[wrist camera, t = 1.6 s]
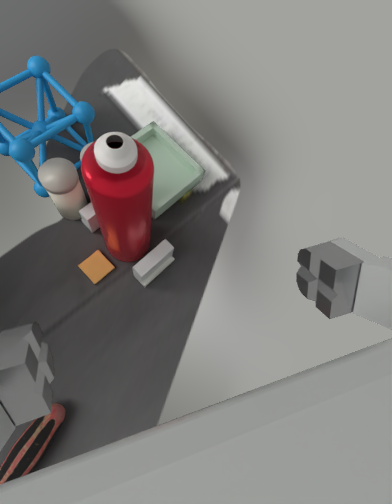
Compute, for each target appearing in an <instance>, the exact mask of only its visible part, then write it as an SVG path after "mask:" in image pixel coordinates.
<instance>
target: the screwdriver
mask: <svg viewBox="0 0 392 504" xmlns="http://www.w3.org/2000/svg"><path fill="white" fill-rule="evenodd" d="M64 417H65V409H64V407H63V406H62V405H61V404H59V403H54V404H52V408H51V413H50V414H48V415H45V416H42V417H39V418H37V419H35V420H34V421H33V422H32V423H31V424H30V426H29V427H28V428H27V429H26V430H25V432H24V433H23V434H22V435H21V436H20V438H19V439H18V440H17V441H16V443H15V444H14V445H13V447H12V449H11V450H10V452H9V454H8V455H7V457H6V459H5V461H4V462H3V464H2V465H1V467H0V484H3V483H6V482H8V481H11V480H14V479H16V478H19V477H22V476H24V475H27V474H30V473H31V472H32V470H33V469H34V468H35V467H36V466H37V464H38V463H39V462H40V460H41V459H42V458H43V456H44V454H45V453H46V451H47V450H48V448H49V446H50V444H51V442H52V441H53V439H54V437H55V435H56V433H57V432H58V430H59V428H60V426H61V424H62V422H63V420H64Z"/></svg>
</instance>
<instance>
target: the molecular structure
mask: <svg viewBox="0 0 392 504" xmlns="http://www.w3.org/2000/svg"><path fill="white" fill-rule="evenodd" d="M27 67H28V69H27V70H25V71H23V72H21V73H19V74H17V75H15V76H13V77H12V78H9V79H8V80H6V81H4V82H2V83H0V93H1V92H3V91H4V90H7V89H8V88H10V87H12V86H14V85H16V84H18V83H20V82H22V81H24V80H26V79H27V78H29V77H31V76H33V77H35V78H36V88H37V89H36V90H37V111H38V121H35V122H34V123H31V122H29V121H27V120H24V119H22V118H20V117H18V116H16V115H13V114H11V113H9V112H7V111H5V110H3V109H0V116H2V117H4V118H6V119H9V120H11V121H13V122H15V123H18V124H20V125H22V126H24V127H26V128H29V129H28V130H26V131H25V132H23V133H21V134H19V135H18V136H16V137H14V136H13V135H12V134H11V133H10V132H9V131H8V130H7V129H6V128H5V127H4V126H3V125H2V123H1V122H0V154H2V155H4V156H12V158H13V159H14V160H15V161H16V162H17V163H18V164H19V165H20V166H21V168H22V169H23V170H24V171H25V172H26V173H27V174H28V175H29V176H30V177H31V178H32V179H33V180H34V181H35V184H34V190H35V192H36V193H37V194H38V195H39V196H41V197H49V194H48V192H47V191H46V190H45V189H44V187H43V186H42V184H41V182H40V181H39V179H38V170H37V168H36V166H35V165H34V163H33V161H32V158H33V157H34V155H35V150H34V148H35V147H37V146H38V145H39V153H40V166H41V165H42V164H43V163H44V162H45V161H47V160H46V141H48V140H49V139H50V138H51V139H53V140H56V141H58V142H60V143H62V144H65V145H67V146H69V147H71V148H73V149H76V150H78V151H80V152H81V150H82V149H83V147H84V146H86V145H87V143H86V142H85V141H84V140H83V139H82V138H81V137H80V136H79V135H78V134H77V133H76V132H75V131H74V130H73V129H72V128H71V125H73V124H74V123H76V122H78V123H80V124H83V125H84V129H85V133H86V137H87V140H88V144H89V143H91V142H94V139H93V135H92V131H91V127H90V123H91V122H92V121H93V120H94V118H95V111H94V108H93V107H92V106H91V105H90V104H89V103H87V102H84V101H81V102H77V101H76V100H75V99H74V98H73V97H72V96H71V95H70V94H69V93H68V92H67V91H66V90H65V89H64V88H63V87H62V86H61V85H60V84H59V83H58V82H57V81H56V80H55V79H54V78H53V77H52V76H51V75H50V66H49V63H48V62H47V61H46V60H45V59H44V58H42V57H40V56H32V57H31V58H30V59H29V60H28V63H27ZM47 81H48V82H49V83H50V84H51V85H52V86H53V87H54V88H55V89H56V90H57V91H58V92H59V93H60V94H61V95H62V96H63V97H64V98H65V99H66V100H67V101H68V102H69V103H70V104H71V105H72V106H73V111H72V112H73V114H71V115H69V116H67V117H66V114H65V112H64V111H63V110H62V109H61V108H59V107H56V104H55V102H54V99H53V96H52V93H51V90H50V87H49V85H48V82H47ZM44 92H45V94H46V97H47V100H48V102H49V105H50V109H49V110H48V113H47V116H48V118H47V119H45V114H44ZM64 129H66V130H67V131H68V132H69V133H70V134H71V135H72V136H73V137H74V138H75V139H76V140H77V141H78V143H79V144H80V145H79V144H76V143H74V142H72V141H70V140H68V139H66V138H63V137H61V136H59V135H57V134H58V133H59V132H61V131H63V130H64ZM2 135H3V136H4V137H3V136H2ZM74 166H75V168H76V170H78V169H79V168H81V160H80V161H79V162H77V163H75V164H74Z"/></svg>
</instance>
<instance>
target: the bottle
mask: <svg viewBox="0 0 392 504" xmlns="http://www.w3.org/2000/svg"><path fill="white" fill-rule="evenodd" d="M81 174H82V177H83V180H84V182H85V185H86V188H87V191H88V194H89V197H90V200H91V203H92V206H93V208H94V211H95V214H96V217H97V220H98V223H99V226H100V229H101V232H102V234H103V237H104V240H105V243H106V246H107V249H108V251H109V253H110V254H111V255H112V256H113V257H114V258H116V259H118V260H120V261H124V262H132V261H136V260H138V259H140V258H142V257H143V256H144V255H145V254H146V253H147V251H148V249H149V246H150V234H151V217H152V199H153V182H154V163H153V159H152V157H151V154H150V153H149V151H148V150H147V149H146V148H145V147H144V146H143V145H142V144H141V143H140V142H138V141H137V140H135V139H133V138H131V137H129V136H128V135H126V134H124V133H121V132H109V133H106V134H104V135H102V136H100V137H99V138H98V139H97V140H96V141H95V142H93V143H92V144H91V145H90V146H89V147H88V148H87V149H86V151H85V152H84V154H83V157H82V160H81Z"/></svg>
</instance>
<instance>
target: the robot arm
mask: <svg viewBox="0 0 392 504" xmlns="http://www.w3.org/2000/svg"><path fill="white" fill-rule="evenodd" d="M298 262H299V264H300V265H301V267H300V268H299V270H298V272H297V284H298V287H299V290H300V291H301V293H302V294H303V295H304V296H305V297H306V298H307V299H310V300H313V301H316V307H317V308H318V309H319V310H320V311H321V312H322V313H323V314H325V315H326V316H327V317H328V318H329V319H331V318H335V317H338V316H341V315H344V314H348V313H351V312H353V314H356V315H358V316H361V317H363V318H365V319H368V320H370V321H373V322H375V323H377V324H380V325H382V326H385V327H387V328H390V329H392V258H389V257H380V258H379V257H377V256H376V255H374V254H372V253H370V252H368V251H366V250H365V249H363V248H361V247H359V246H357V245H356V244H354V243H352V242H350V241H348V240H347V239H345V238H337V239H334V240H331V241H328V242H325V243H322V244H318V245H315V246H312V247H308V248H305V249H301V250H300V251H299V253H298ZM42 335H43V332H42V330H41V328H40V326H39V324H38V323H37V322H31V323H27V324H23V325H19V326H15V327H11V328H7V329H3V330H0V451H1V450H2V448H3V447H4V445H5V444H6V442H7V441H8V439H9V438H10V436H11V435H12V433H13V431H14V430H15V426H18V425H20V424H23V423H26V422H29V421H31V420H34V419H37V418H39V417H42V416H45V415H48V414H50V413H51V408H52V397H53V391H52V389H51V386H50V383H51V382H52V380H53V379H54V372H55V368H54V360H53V356H52V353H51V350H50V348H49V345H48V344H46V343H44V342H42ZM0 504H392V338H391V339H388V340H385V341H383V342H380V343H377V344H375V345H372V346H369V347H367V348H364V349H361V350H359V351H356V352H353V353H350V354H348V355H345V356H343V357H340V358H337V359H334V360H332V361H329V362H326V363H324V364H321V365H318V366H316V367H313V368H310V369H307V370H305V371H302V372H299V373H297V374H294V375H291V376H289V377H286V378H283V379H281V380H278V381H275V382H273V383H270V384H267V385H265V386H262V387H259V388H257V389H254V390H251V391H249V392H246V393H244V394H241V395H238V396H235V397H233V398H230V399H227V400H225V401H222V402H219V403H217V404H214V405H211V406H209V407H206V408H203V409H201V410H198V411H196V412H193V413H190V414H188V415H185V416H182V417H180V418H177V419H174V420H171V421H169V422H166V423H163V424H161V425H158V426H155V427H153V428H150V429H147V430H145V431H142V432H139V433H137V434H134V435H131V436H129V437H126V438H123V439H120V440H118V441H115V442H112V443H110V444H107V445H104V446H102V447H99V448H96V449H94V450H91V451H88V452H86V453H83V454H80V455H78V456H75V457H72V458H70V459H67V460H64V461H62V462H59V463H56V464H54V465H51V466H48V467H46V468H43V469H40V470H38V471H35V472H32V473H30V474H27V475H24V476H22V477H19V478H16V479H14V480H11V481H8V482H6V483H3V484H0Z"/></svg>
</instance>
